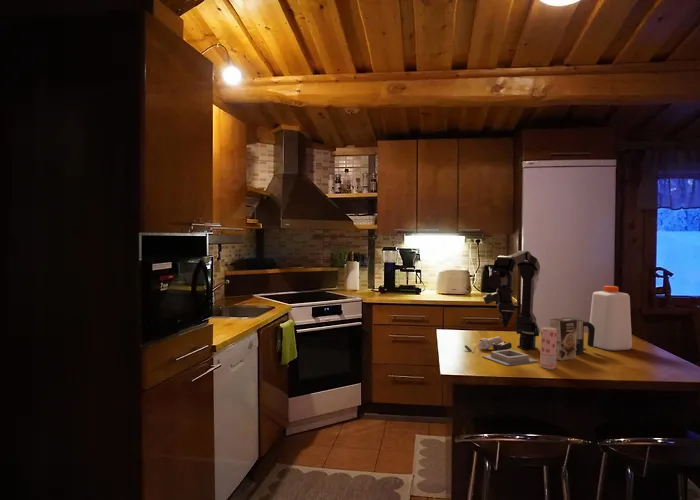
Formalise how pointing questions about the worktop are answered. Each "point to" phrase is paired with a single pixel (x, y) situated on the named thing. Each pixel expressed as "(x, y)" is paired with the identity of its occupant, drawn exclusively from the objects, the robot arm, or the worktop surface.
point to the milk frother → (581, 333)
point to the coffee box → (565, 337)
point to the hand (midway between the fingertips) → (504, 325)
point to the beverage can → (548, 347)
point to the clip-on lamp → (492, 344)
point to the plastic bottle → (611, 319)
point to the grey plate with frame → (509, 357)
